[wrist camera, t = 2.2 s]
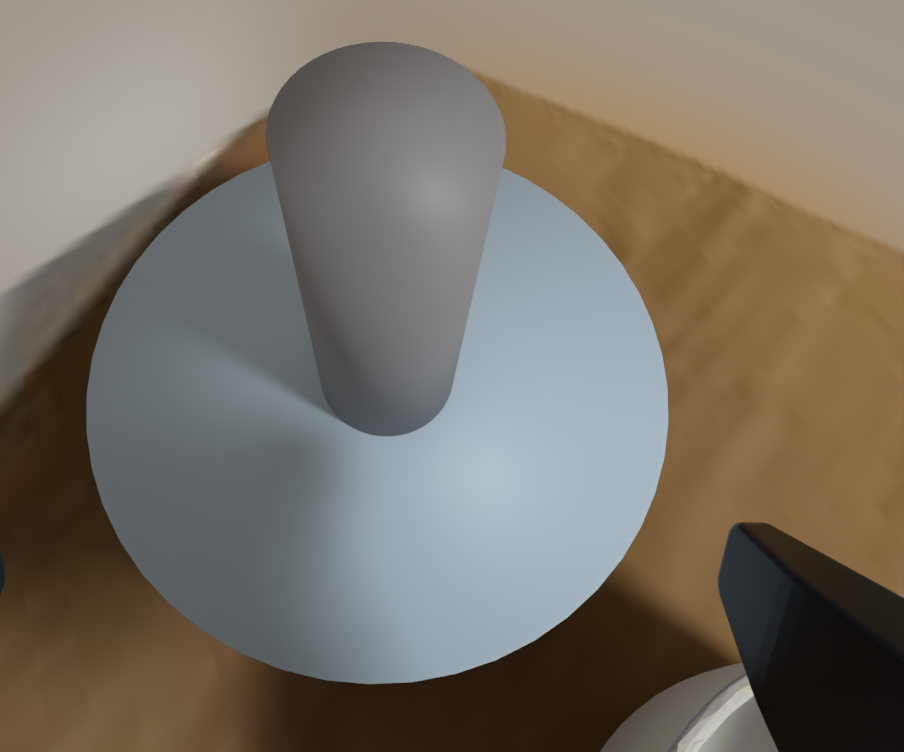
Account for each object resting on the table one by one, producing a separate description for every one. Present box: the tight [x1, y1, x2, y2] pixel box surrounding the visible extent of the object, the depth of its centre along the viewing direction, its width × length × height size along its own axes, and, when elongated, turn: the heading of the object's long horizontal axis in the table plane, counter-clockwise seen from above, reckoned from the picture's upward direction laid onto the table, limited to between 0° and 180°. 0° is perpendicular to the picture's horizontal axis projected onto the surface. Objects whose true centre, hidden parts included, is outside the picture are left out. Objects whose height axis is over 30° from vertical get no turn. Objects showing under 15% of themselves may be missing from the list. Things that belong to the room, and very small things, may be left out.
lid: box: [86, 42, 668, 684], centre depth 13 cm, size 13×13×9 cm
